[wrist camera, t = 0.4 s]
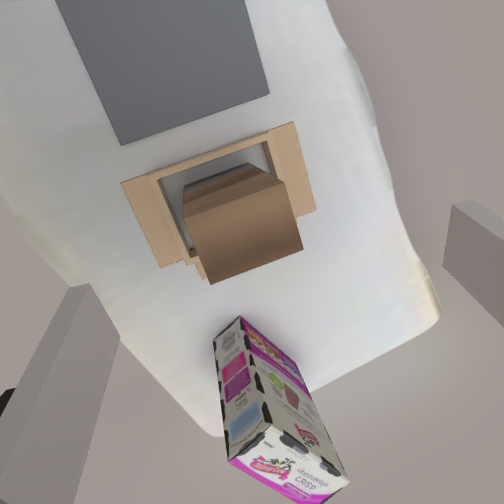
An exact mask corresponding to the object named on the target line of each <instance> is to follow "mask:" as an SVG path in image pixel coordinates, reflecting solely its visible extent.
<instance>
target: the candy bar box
mask: <svg viewBox="0 0 504 504" xmlns="http://www.w3.org/2000/svg"><path fill="white" fill-rule="evenodd" d="M213 346H214V353H215V361H216V368H217V377H218V384H219V391H220V402H221V410H222V417H223V425H224V434H225V442H226V449H227V456H228V463H230V464H231V465H233V466H235V467H236V468H238V469H240V470H242V471H243V472H245V473H246V474H249V475H250V476H252V477H254V478H255V479H257V480H259V481H260V482H262V483H263V484H265V485H267V486H268V487H270V488H272V489H273V490H275V491H277V492H279V493H280V494H282V495H283V496H285V497H287V498H288V499H290V500H292V501H293V502H295V503H297V504H323V503H324V502H326V501H327V500H328V499H329V498H331V497H332V496H333V495H334V494H335V493H336V492H338V491H339V490H341V489H342V488H343V487H344V486H345V485H347V484H348V483H349V482H350V480H349V479H348V477H347V474H346V472H345V470H344V468H343V466H342V464H341V462H340V460H339V458H338V455H337V453H336V451H335V448H334V446H333V444H332V441H331V439H330V437H329V435H328V433H327V431H326V429H325V426H324V424H323V422H322V420H321V418H320V415H319V413H318V412H317V409H316V407H315V405H314V402H313V400H312V398H311V396H310V394H309V391H308V389H307V387H306V385H305V383H304V380H303V378H302V376H301V374H300V372H299V370H298V367H297V365H296V363H294V362H293V361H292V360H291V359H290V358H288V357H287V356H286V355H285V354H284V353H283V352H281V351H280V350H279V349H278V348H277V347H275V346H274V345H273V344H272V343H271V342H270V341H268V340H267V339H266V338H265V337H264V336H263V335H261V334H260V333H259V332H258V331H257V330H256V329H254V328H253V327H252V326H251V325H250V324H249V323H247V322H246V321H245V320H244V319H243V318H242V317H239V318H237V319H236V320H235V321H234V322H233V323H232V324H231V325H230V326H229V327H228V328H227V329H225V330H224V331H223V332H222V333H221V334H220V335H218V336H217V338H215V339H214V340H213Z"/></svg>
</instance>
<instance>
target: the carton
mask: <svg viewBox="0 0 504 504" xmlns="http://www.w3.org/2000/svg"><path fill="white" fill-rule="evenodd" d="M261 142H262V143H263V147H264V150H265V153H266V157H267V160H268V163H269V167H270V170H271V173H272V176H274V177H276V178H278V179H279V180H281V181H283V182H285V186H286V189H287V193H288V196H289V200H290V203H291V207H292V210H293V214H294V217H295V221H296V217H299V216H301V215H304V214H307V213H309V212H312V211H315V210H316V206H315V202H314V198H313V195H312V191H311V187H310V183H309V179H308V175H307V171H306V167H305V164H304V160H303V156H302V152H301V148H300V144H299V140H298V136H297V133H296V129H295V125H294V122H291V123H288V124H285V125H283V126H280V127H277V128H274V129H271V130H269V131H266V132H263V133H260V134H257V135H255V136H252V137H249V138H246V139H243V140H241V141H238V142H235V143H232V144H229V145H227V146H224V147H221V148H218V149H215V150H212V151H210V152H207V153H204V154H201V155H198V156H196V157H193V158H190V159H187V160H184V161H182V162H179V163H176V164H173V165H170V166H168V167H165V168H162V169H159V170H156V171H154V172H151V173H148V174H145V175H142V176H140V177H137V178H134V179H131V180H128V181H126V182H123V183H121V186H122V188H123V190H124V192H125V194H126V196H127V198H128V201H129V203H130V205H131V207H132V209H133V211H134V213H135V215H136V217H137V220H138V222H139V224H140V226H141V228H142V230H143V232H144V234H145V236H146V239H147V241H148V243H149V245H150V247H151V249H152V251H153V253H154V255H155V257H156V260H157V262H158V264H159V266H160V268H162V267H165V266H168V265H170V264H173V263H176V262H178V261H181V260H185V263H186V265H187V266H188V265H190V264H193V263H195V264H196V267H197V269H198V271H199V274H200V276H201V278H202V280H203V279H205V278H207V275H206V273H205V271H204V268H203V266H202V263H201V261H200V259H199V256H198V254H197V252H196V249H193V250H189V247H188V245H187V243H186V240H185V238H184V236H183V233H182V231H181V229H180V226H179V224H178V222H177V219H176V217H175V214H174V212H173V210H172V207H171V205H170V203H169V200H168V198H167V196H166V193H165V191H164V189H163V186H162V184H161V182H160V178H163V177H166V176H169V175H172V174H174V173H177V172H180V171H183V170H186V169H188V168H191V167H194V166H197V165H200V164H202V163H205V162H208V161H211V160H214V159H216V158H219V157H222V156H225V155H227V154H230V153H233V152H236V151H239V150H241V149H244V148H247V147H250V146H253V145H255V144H258V143H261ZM296 224H297V221H296Z"/></svg>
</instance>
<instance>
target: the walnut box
mask: <svg viewBox="0 0 504 504" xmlns="http://www.w3.org/2000/svg"><path fill="white" fill-rule="evenodd" d="M183 221H184V223H185V225H186V228H187V230H188V233H189V235H190V237H191V240H192V242H193V244H194V247H195V249H196V252H197V254H198V256H199V259H200V261H201V263H202V266H203V268H204V271H205V273H206V275H207V278H208V280H209V282H210V285H212V284H214V283H217V282H220V281H222V280H225V279H227V278H230V277H233V276H235V275H238V274H241V273H243V272H246V271H249V270H251V269H254V268H256V267H259V266H262V265H264V264H267V263H270V262H272V261H275V260H278V259H280V258H283V257H285V256H288V255H291V254H293V253H296V252H299V251H301V250H304V249H303V245H302V242H301V238H300V235H299V231H298V228H297V224H296V221H295V217H294V214H293V210H292V207H291V203H290V200H289V196H288V193H287V189H286V186H285V182H283V181H281V180H279V179H278V178H276V177H274V176H272V175H270V174H268V173H267V172H265V171H263V170H261V169H259V168H257V167H255V166H254V165H252V164H250V163H246V164H243V165H240V166H237V167H235V168H232V169H229V170H226V171H223V172H221V173H218V174H215V175H212V176H210V177H207V178H204V179H201V180H199V181H196V182H193V183H190V184H187V185H185V186H184V199H183Z"/></svg>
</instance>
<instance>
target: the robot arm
mask: <svg viewBox="0 0 504 504" xmlns="http://www.w3.org/2000/svg"><path fill="white" fill-rule="evenodd" d="M443 267H444V268H445V269H446V270H447V271H448V272H449V273H450V274H451V275H452V276H453V277H454V278H455V279H456V280H457V281H458V282H459V283H460V284H461V285H462V286H463V287H464V288H465V289H466V290H467V291H468V292H469V293H470V294H471V295H472V296H473V297H474V298H475V299H476V300H477V301H478V302H479V303H480V304H481V305H482V306H483V307H484V308H485V309H486V310H487V311H488V312H489V313H490V314H491V315H492V316H493V317H494V318H495V319H496V320H497V321H498V322H499V323H500V324H501V325H502V326H503V327H504V219H503V218H502V217H500V216H498V215H497V214H495V213H494V212H492V211H491V210H489V209H487V208H486V207H484V206H483V205H481V204H480V203H478V202H476V201H475V200H469V201H464V202H460V203H455V204H452V208H451V214H450V220H449V227H448V234H447V240H446V246H445V253H444V259H443ZM119 339H120V335H119V333H118V331H117V330H116V328H115V326H114V324H113V323H112V321H111V319H110V317H109V316H108V314H107V312H106V311H105V309H104V307H103V305H102V304H101V302H100V300H99V299H98V297H97V295H96V293H95V292H94V290H93V288H92V286H91V285H90V284H85V285H81V286H76V287H71V288H69V289H68V291H67V293H66V294H65V296H64V298H63V300H62V302H61V304H60V306H59V308H58V310H57V311H56V313H55V315H54V317H53V319H52V321H51V323H50V325H49V326H48V328H47V330H46V332H45V334H44V336H43V338H42V340H41V342H40V343H39V345H38V347H37V349H36V351H35V353H34V355H33V357H32V358H31V361H30V362H29V364H28V366H27V368H26V370H25V372H24V374H23V376H22V377H21V379H20V381H19V383H18V385H17V387H16V388H13V389H8V390H6V391H5V392H4V393H3V394H2V395H1V396H0V504H73V503H74V500H75V496H76V493H77V489H78V486H79V482H80V478H81V475H82V471H83V467H84V464H85V460H86V457H87V453H88V450H89V446H90V442H91V439H92V436H93V432H94V428H95V425H96V421H97V418H98V414H99V411H100V407H101V403H102V400H103V396H104V392H105V389H106V385H107V382H108V378H109V375H110V371H111V367H112V364H113V360H114V357H115V353H116V350H117V346H118V343H119Z"/></svg>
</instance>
